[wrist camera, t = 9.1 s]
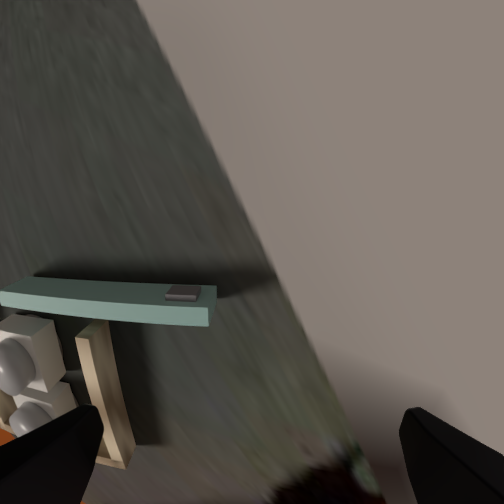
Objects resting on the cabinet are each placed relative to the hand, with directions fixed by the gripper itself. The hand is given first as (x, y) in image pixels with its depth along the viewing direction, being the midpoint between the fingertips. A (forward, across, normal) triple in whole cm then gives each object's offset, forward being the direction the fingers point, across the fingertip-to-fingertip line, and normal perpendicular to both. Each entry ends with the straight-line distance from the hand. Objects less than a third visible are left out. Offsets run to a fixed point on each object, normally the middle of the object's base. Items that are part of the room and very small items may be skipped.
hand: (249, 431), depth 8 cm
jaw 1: (+11, +17, +5) cm, 21 cm away
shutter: (+12, +9, 0) cm, 15 cm away
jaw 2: (+11, +17, +10) cm, 23 cm away
